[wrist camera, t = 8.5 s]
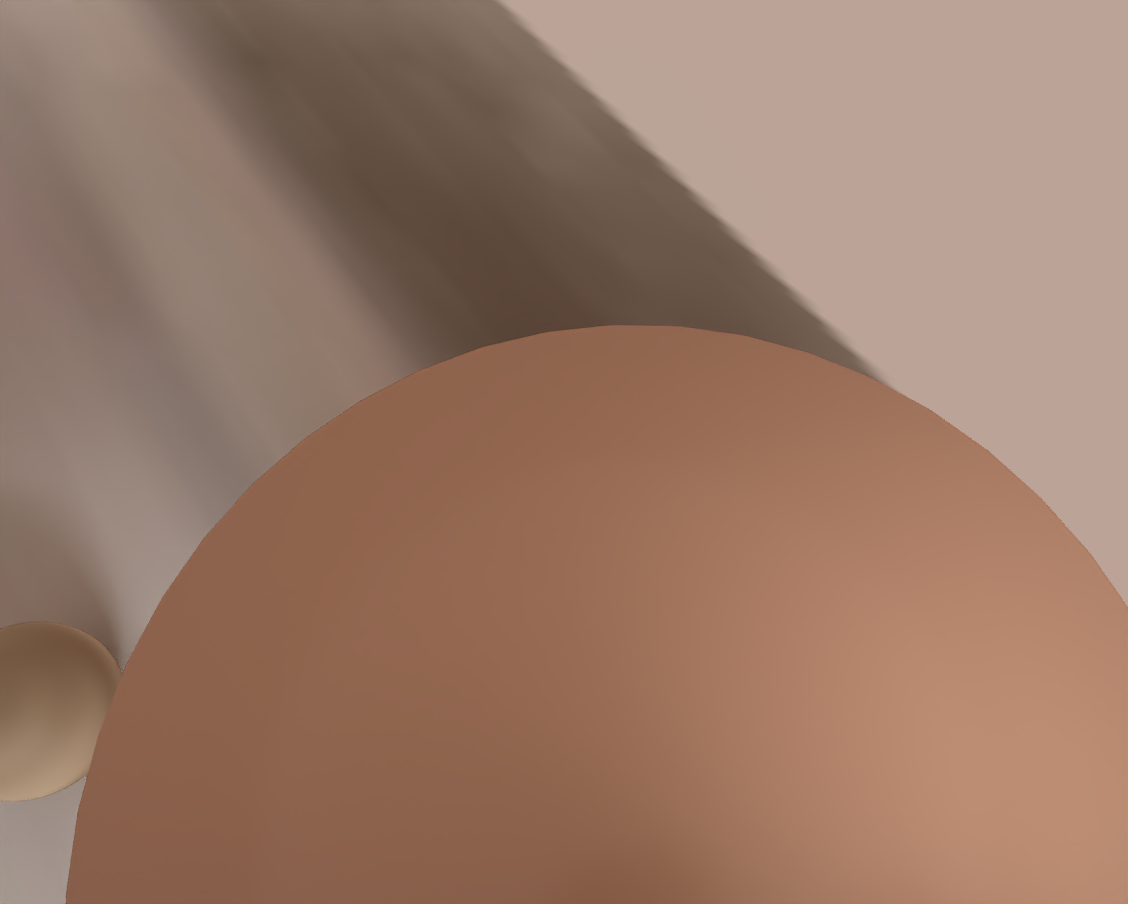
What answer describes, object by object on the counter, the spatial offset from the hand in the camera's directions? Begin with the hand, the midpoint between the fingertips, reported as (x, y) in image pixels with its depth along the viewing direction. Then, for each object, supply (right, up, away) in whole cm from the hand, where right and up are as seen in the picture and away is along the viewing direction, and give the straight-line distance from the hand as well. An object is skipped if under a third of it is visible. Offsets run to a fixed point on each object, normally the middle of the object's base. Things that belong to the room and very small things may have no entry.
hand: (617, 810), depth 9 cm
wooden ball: (-10, -1, +8) cm, 13 cm away
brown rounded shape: (0, -2, +8) cm, 8 cm away
